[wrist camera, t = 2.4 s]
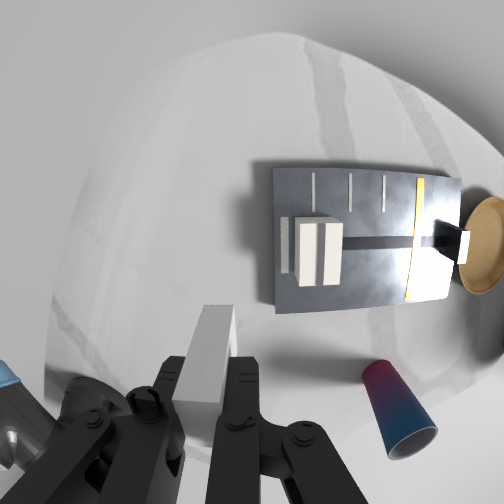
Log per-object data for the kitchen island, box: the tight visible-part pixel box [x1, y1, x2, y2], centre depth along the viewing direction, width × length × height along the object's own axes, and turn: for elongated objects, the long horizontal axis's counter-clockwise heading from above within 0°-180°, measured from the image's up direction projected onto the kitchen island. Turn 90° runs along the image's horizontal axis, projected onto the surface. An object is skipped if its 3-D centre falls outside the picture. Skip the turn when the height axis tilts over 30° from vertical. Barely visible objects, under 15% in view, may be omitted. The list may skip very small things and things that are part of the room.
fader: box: [294, 217, 343, 287], centre depth 27 cm, size 4×6×4 cm, turn 2°
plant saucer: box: [458, 196, 504, 295], centre depth 30 cm, size 15×15×3 cm
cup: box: [362, 360, 438, 460], centre depth 29 cm, size 7×7×15 cm
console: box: [272, 168, 470, 314], centre depth 28 cm, size 24×16×5 cm, turn 92°
